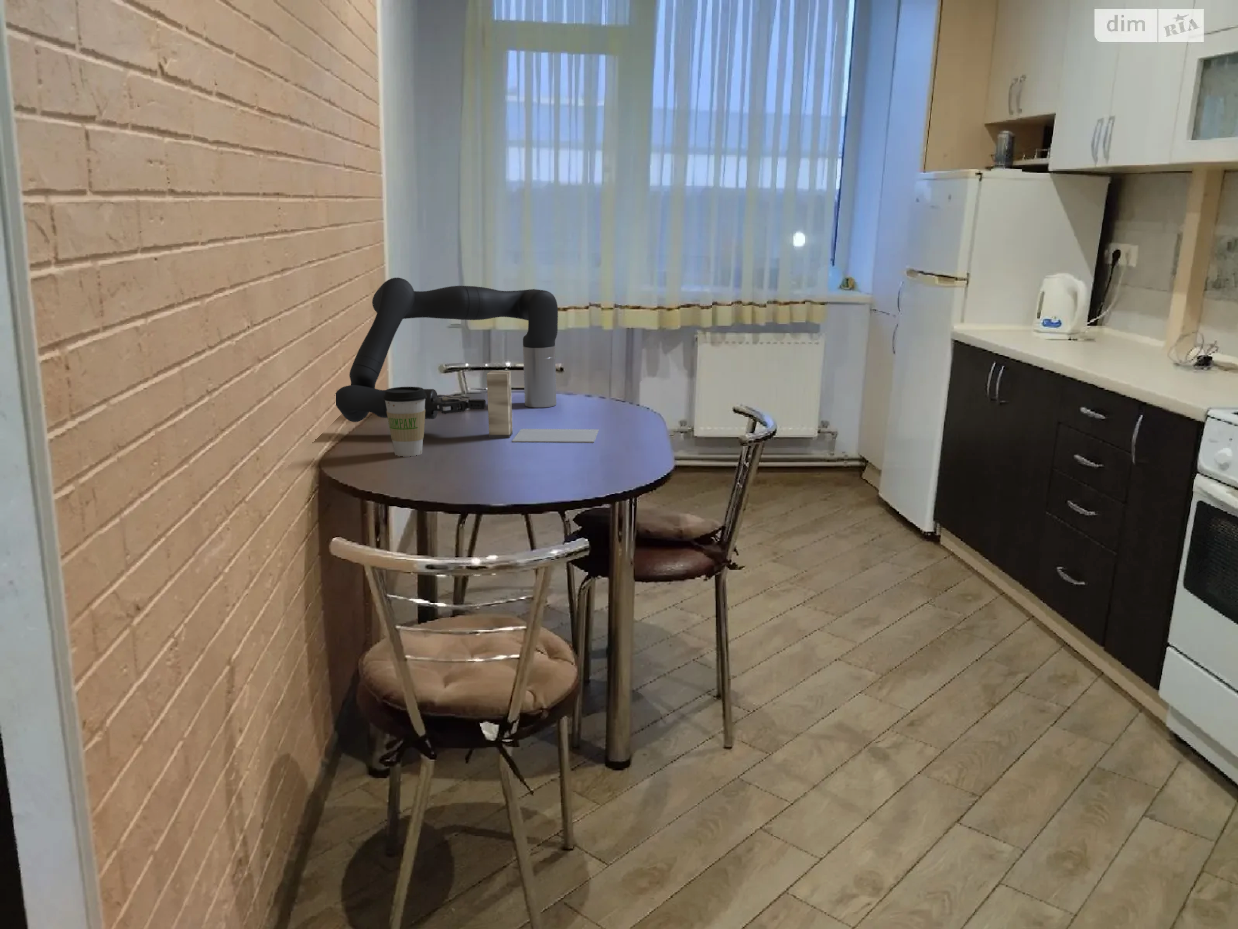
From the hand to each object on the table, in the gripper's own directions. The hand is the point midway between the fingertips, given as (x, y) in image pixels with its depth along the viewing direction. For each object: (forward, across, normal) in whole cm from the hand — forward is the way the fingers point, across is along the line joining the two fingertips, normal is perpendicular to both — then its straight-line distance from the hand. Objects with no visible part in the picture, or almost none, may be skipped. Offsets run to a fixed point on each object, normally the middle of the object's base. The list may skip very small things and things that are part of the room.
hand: (485, 404), depth 242 cm
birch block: (+4, 0, +8) cm, 9 cm away
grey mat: (+18, 0, +8) cm, 19 cm away
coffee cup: (-14, -20, +8) cm, 26 cm away
